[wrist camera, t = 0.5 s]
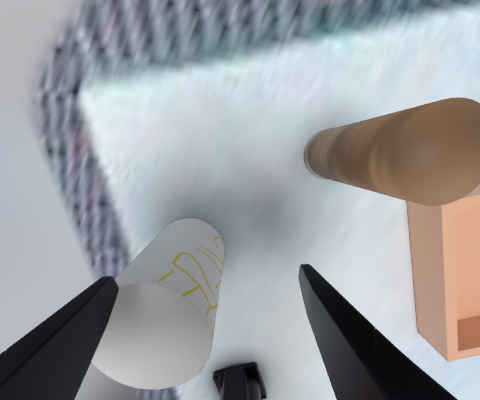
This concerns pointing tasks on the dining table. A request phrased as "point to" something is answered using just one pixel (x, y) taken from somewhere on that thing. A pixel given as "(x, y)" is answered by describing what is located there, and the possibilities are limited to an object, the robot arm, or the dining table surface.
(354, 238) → the dining table surface
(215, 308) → the light grey cylinder
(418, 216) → the bin
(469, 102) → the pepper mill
